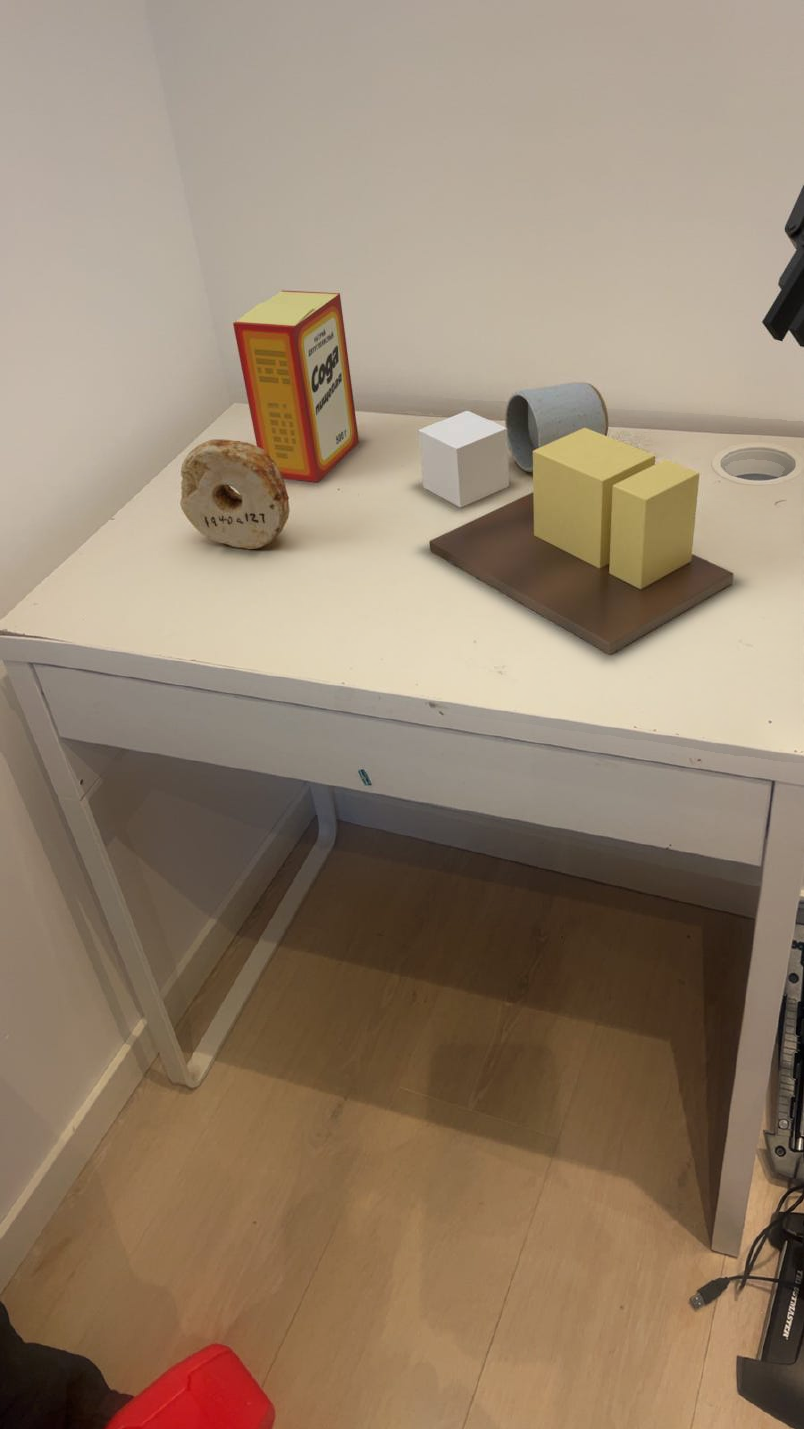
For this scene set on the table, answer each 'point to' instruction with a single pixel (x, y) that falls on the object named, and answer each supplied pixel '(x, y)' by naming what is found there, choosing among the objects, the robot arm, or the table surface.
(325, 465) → the baking soda box
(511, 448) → the ceramic mug
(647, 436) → the table surface
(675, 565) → the block
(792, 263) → the robot arm
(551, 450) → the butter block
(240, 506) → the stone disc
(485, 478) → the white cube
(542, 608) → the butter board
